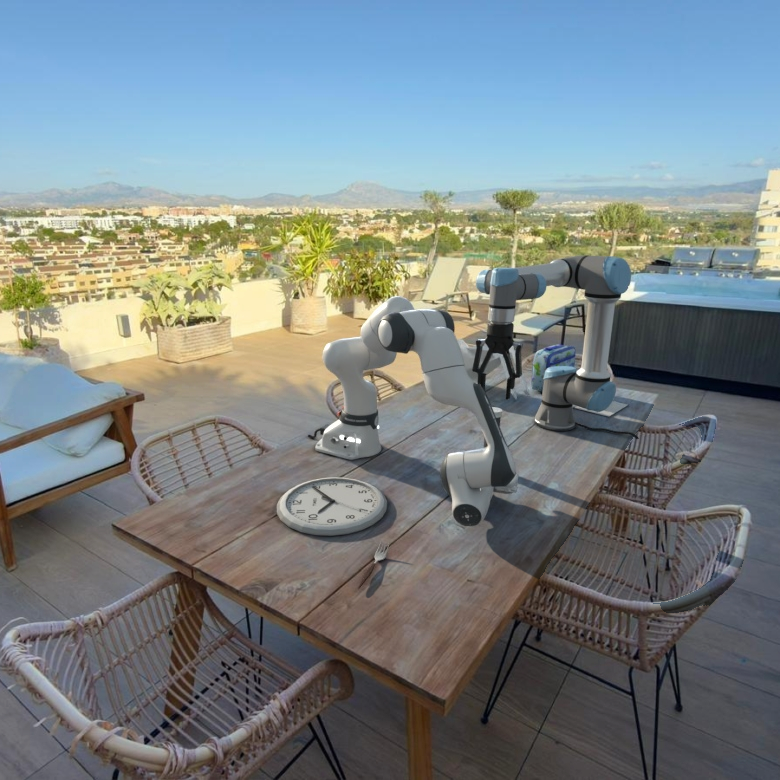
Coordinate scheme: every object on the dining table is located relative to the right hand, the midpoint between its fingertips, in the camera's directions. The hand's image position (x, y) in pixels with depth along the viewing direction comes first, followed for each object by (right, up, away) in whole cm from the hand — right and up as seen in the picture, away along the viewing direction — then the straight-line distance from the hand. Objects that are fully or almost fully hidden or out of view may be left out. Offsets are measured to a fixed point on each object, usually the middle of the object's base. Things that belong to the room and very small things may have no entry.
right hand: (494, 396), depth 159 cm
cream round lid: (0, -4, +1) cm, 5 cm away
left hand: (-4, -20, -5) cm, 21 cm away
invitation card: (+60, -5, +67) cm, 90 cm away
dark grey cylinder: (0, -23, +7) cm, 24 cm away
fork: (-36, -38, -43) cm, 67 cm away
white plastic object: (+10, +1, +84) cm, 85 cm away
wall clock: (-48, -30, -16) cm, 58 cm away
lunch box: (+45, +2, +91) cm, 101 cm away
